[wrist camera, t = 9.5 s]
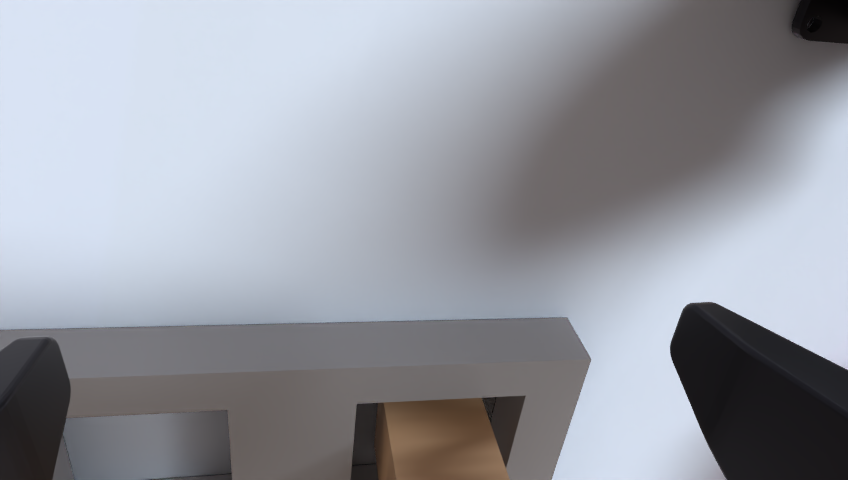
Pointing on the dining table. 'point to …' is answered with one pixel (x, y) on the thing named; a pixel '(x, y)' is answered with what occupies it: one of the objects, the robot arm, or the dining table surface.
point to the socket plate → (328, 384)
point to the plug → (436, 441)
